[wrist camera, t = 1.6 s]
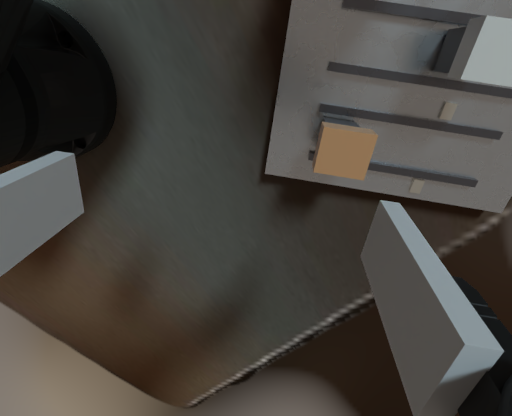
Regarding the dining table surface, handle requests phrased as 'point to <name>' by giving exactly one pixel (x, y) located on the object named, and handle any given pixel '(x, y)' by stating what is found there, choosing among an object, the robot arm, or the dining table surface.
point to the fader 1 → (343, 149)
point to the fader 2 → (479, 51)
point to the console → (394, 100)
